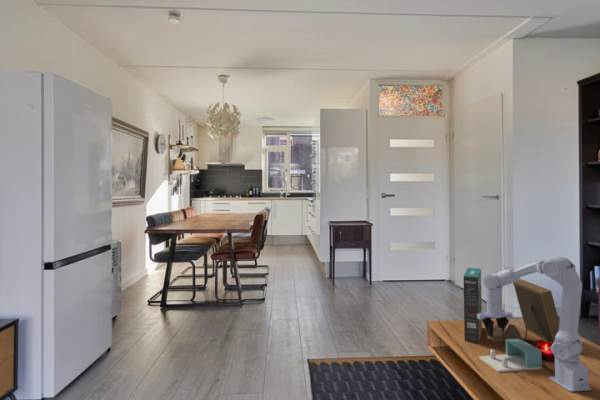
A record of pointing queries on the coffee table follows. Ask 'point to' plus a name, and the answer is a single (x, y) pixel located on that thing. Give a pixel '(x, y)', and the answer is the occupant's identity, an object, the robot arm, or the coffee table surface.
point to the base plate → (512, 363)
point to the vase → (511, 333)
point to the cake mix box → (472, 304)
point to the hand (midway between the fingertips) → (495, 335)
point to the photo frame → (537, 310)
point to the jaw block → (496, 334)
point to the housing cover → (524, 352)
